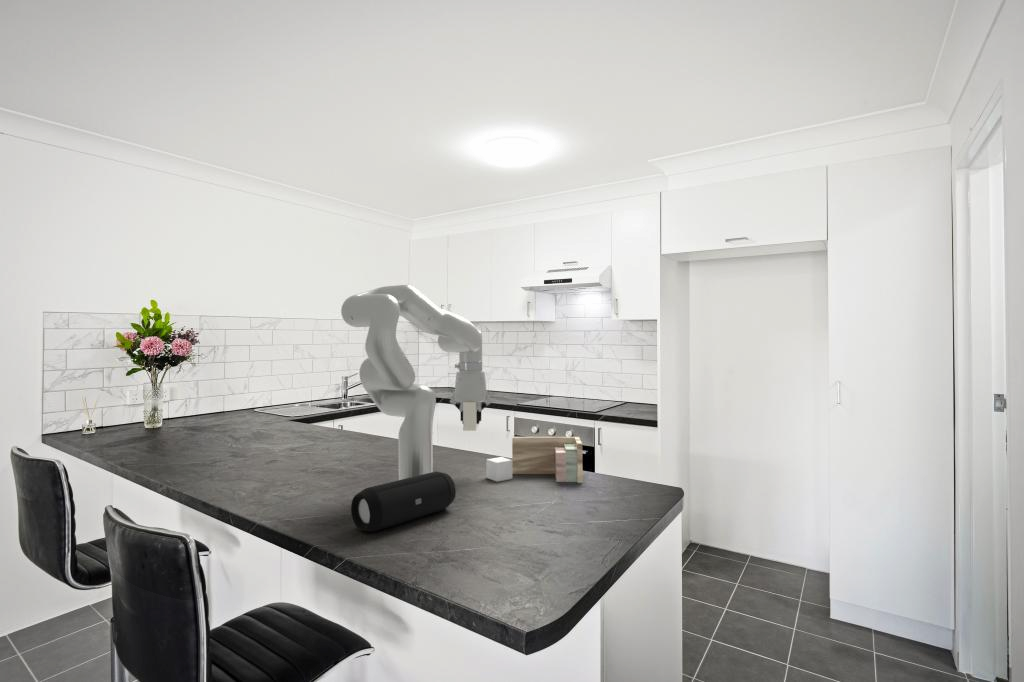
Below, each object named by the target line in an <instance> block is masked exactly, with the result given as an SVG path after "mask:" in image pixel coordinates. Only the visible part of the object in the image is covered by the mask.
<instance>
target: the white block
mask: <svg viewBox="0 0 1024 682" xmlns="http://www.w3.org/2000/svg"><path fill="white" fill-rule="evenodd" d="M477 409H478V408H477V403H476V402H463V424H462V425H463V426H462V431H464V432H466V431H467V432H469V431H471V432H474V431H477V430H478V428H479V424H477Z"/></svg>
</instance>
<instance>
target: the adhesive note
mask: <svg viewBox="0 0 1024 682" xmlns="http://www.w3.org/2000/svg"><path fill="white" fill-rule="evenodd" d="M485 460H486V461H485V463H486V468H485V469H486V471H485V472H486V474H485V475H486V476H485V477H486V479H489V480H492V481H494V482H497V483H498V482H501V481H507V480H513V473H512V459H510V458H507V457H502V456H498V457H494V458H493V457H492V458H486V459H485Z"/></svg>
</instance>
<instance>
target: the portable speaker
mask: <svg viewBox="0 0 1024 682" xmlns="http://www.w3.org/2000/svg"><path fill="white" fill-rule="evenodd" d="M456 491H457V488H456V485H455V481H454V480H453V478H452V476H450V475H449V474H447V473H445V472H440V471H433V472H431V473H427V474H423V475H419V476H414V477H410V478H406V479H402V480H399V479H397V480H394V481H390V482H385V483H382V484H378V485H374V486H373V485H372V486H370V487H366V488H364V489H362V490H361V491H360V492H358V493H357V494H355V495H354V496H353V498H352V501H351V505H350V513H351V518H352V522H353V523H354V525H355V527H357V529H359V530H360V531H365V532H373V533H374V532H378V531H382V530H385V529H387V528H392V527H394V526H397V525H400V524H404V523H407V522H410V521H414V520H416V519H419V518H422V517H425V516H429V515H432V514H435V513H438V512H441V511H444V510H445V509H446V508H448V507H449V506H450V505H451V504H452V503H453V502H454V501H455V498H456Z"/></svg>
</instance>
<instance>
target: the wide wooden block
mask: <svg viewBox="0 0 1024 682" xmlns="http://www.w3.org/2000/svg"><path fill="white" fill-rule="evenodd" d="M511 438H512V439H511V440H512V442H511V443H512V444H511V445H512V446H511V447H512V449H511V451H512V455H511V456H512V459H511V460H512V475H554V476H555V482H556V483H578V484H583V481H584V480H583V479H584V477H583V475H584V474H583V469H584V468H583V442H582V441H581V439H580V436H512V437H511Z"/></svg>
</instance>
